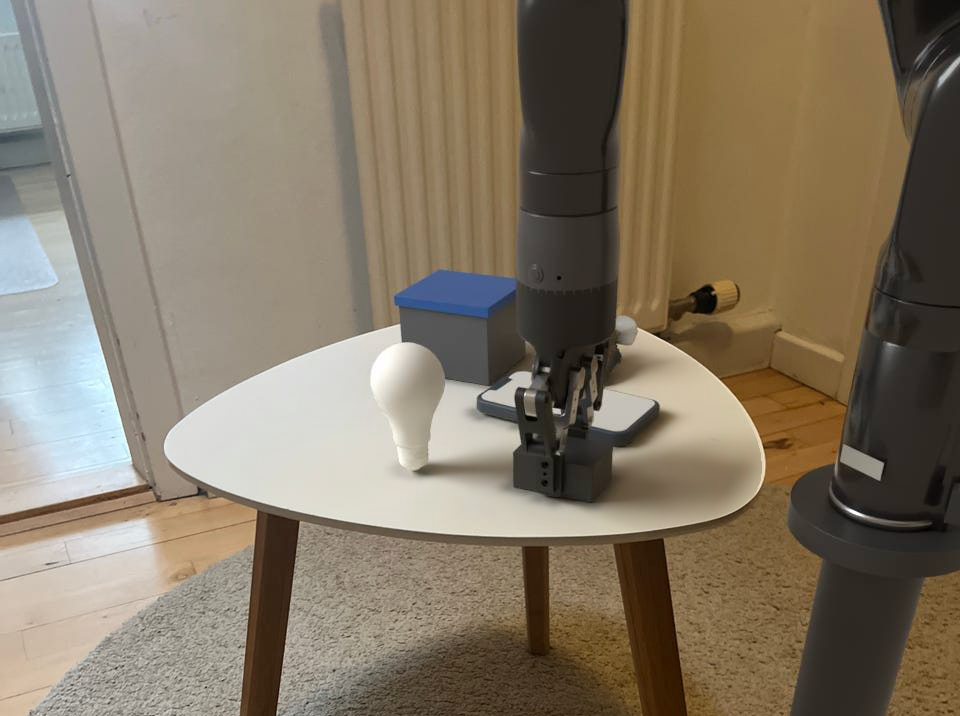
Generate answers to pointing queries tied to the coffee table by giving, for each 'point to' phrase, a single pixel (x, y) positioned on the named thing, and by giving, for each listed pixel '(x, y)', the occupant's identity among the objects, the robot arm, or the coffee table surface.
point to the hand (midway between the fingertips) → (562, 479)
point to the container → (463, 323)
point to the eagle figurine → (620, 340)
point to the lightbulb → (408, 397)
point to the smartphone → (611, 423)
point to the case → (571, 468)
